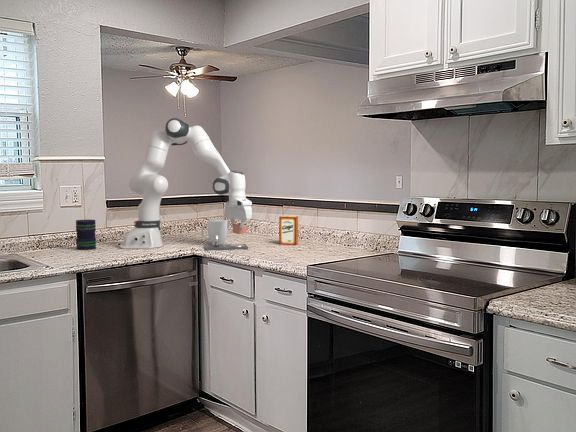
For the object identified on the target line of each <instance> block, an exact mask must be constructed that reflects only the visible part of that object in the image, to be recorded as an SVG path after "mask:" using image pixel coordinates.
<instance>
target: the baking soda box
mask: <svg viewBox="0 0 576 432" xmlns="http://www.w3.org/2000/svg"><path fill="white" fill-rule="evenodd" d="M278 218H279V220H278V221H279V225H278V226H279V227H278V229H279V230H278V231H279V232H278V236H279V237H278V238H279V239H278V241H279V242H278V243H279V246H297V245H298V244H299V216H298V215H289V214H288V215H280V216H279V217H278Z"/></svg>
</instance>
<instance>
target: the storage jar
mask: <svg viewBox="0 0 576 432" xmlns="http://www.w3.org/2000/svg"><path fill="white" fill-rule="evenodd" d="M96 230H97V229H96V220H95V219H77V220H75V232H76V240H75V241H76V242H75V243H76V251H91V250H93V251H94V250H96V249H97V247H96V246H97V238H96Z"/></svg>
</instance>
